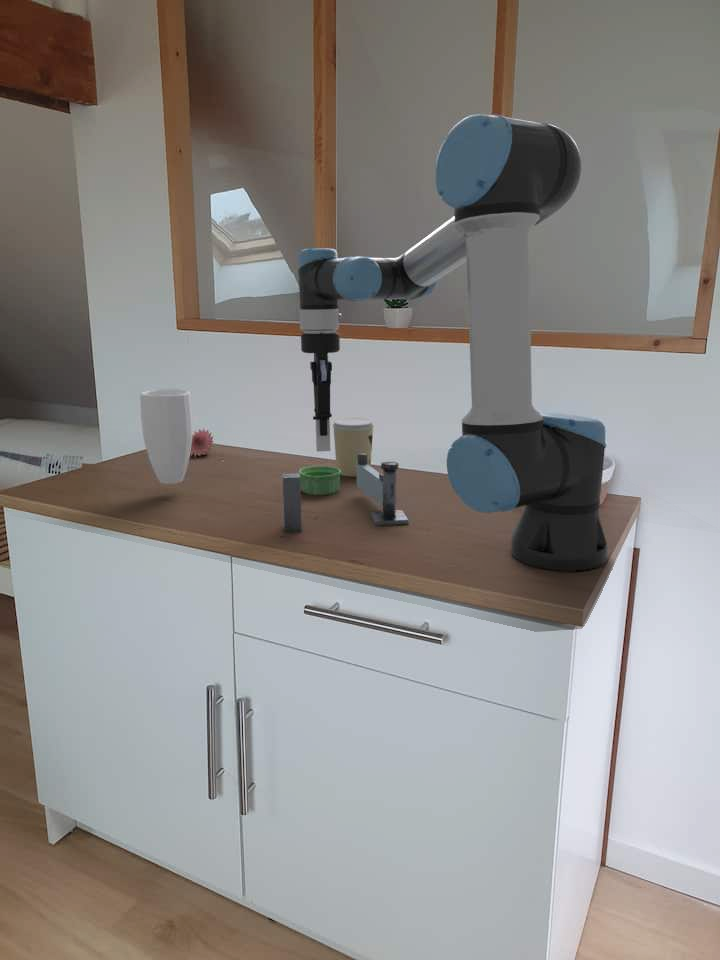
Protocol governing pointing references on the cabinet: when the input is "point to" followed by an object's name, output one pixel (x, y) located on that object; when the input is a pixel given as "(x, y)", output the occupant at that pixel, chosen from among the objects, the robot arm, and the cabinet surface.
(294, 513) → the stile
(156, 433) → the cup
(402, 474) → the cabinet surface
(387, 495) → the pivot post
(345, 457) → the coffee cup
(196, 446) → the flower
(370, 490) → the gate
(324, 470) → the ramekin
